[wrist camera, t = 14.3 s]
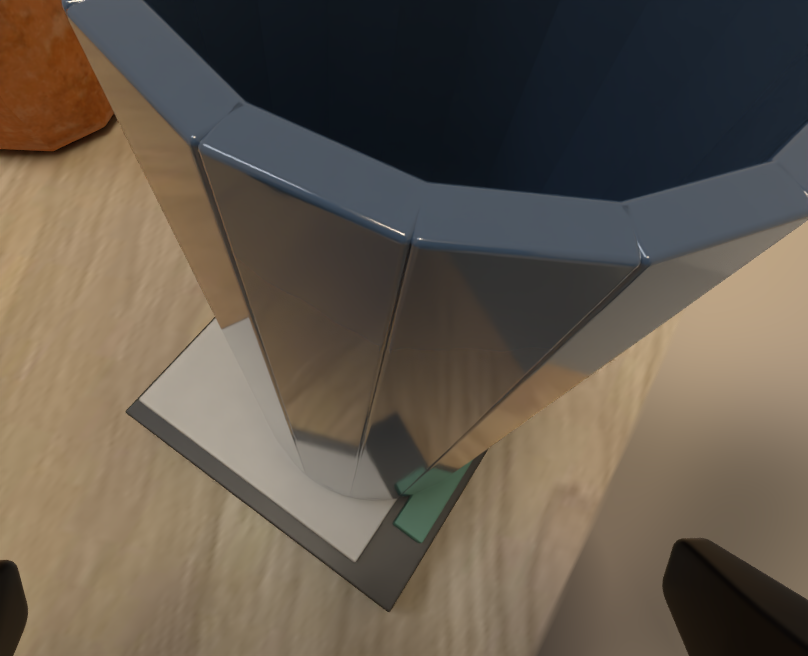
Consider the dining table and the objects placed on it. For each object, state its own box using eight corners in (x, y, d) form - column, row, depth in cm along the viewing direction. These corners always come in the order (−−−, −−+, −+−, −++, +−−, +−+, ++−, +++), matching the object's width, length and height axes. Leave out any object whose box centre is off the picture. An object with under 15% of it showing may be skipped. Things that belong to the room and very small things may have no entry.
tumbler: (484, 506, 16) (1066, 303, 3) (254, 496, 15) (-137, 194, 3) (478, 303, 19) (790, -248, 6) (282, 287, 18) (156, -368, 5)
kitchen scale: (530, 367, 21) (557, 340, 18) (383, 607, 17) (392, 615, 15) (324, 231, 22) (322, 189, 20) (145, 426, 19) (114, 404, 16)
